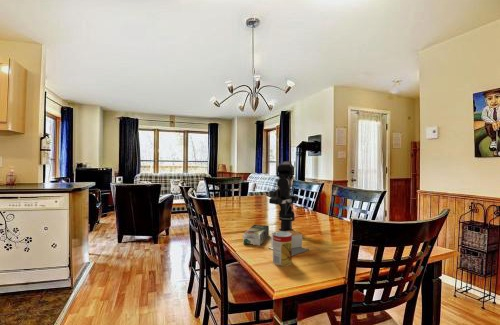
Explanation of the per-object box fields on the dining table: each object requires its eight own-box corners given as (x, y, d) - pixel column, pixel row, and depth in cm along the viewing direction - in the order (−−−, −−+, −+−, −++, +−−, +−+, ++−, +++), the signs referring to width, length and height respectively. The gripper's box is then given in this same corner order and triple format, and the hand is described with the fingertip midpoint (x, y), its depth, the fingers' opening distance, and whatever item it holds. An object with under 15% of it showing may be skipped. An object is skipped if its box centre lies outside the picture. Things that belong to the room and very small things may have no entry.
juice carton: (260, 246, 131) (260, 234, 131) (241, 244, 134) (241, 232, 134) (269, 235, 150) (269, 225, 150) (252, 234, 153) (252, 224, 153)
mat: (286, 243, 136) (286, 242, 136) (308, 250, 125) (308, 249, 125) (268, 248, 128) (268, 247, 128) (290, 256, 117) (290, 255, 117)
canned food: (295, 262, 111) (295, 233, 111) (284, 267, 105) (284, 237, 105) (280, 257, 116) (280, 230, 116) (269, 262, 110) (269, 233, 110)
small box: (302, 234, 129) (278, 237, 124) (302, 246, 129) (278, 250, 124) (293, 229, 136) (271, 232, 131) (293, 242, 136) (271, 245, 131)
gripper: (284, 184, 157) (283, 210, 157) (261, 186, 144) (261, 215, 144) (299, 185, 148) (299, 213, 149) (277, 188, 136) (277, 218, 136)
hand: (284, 215), depth 145 cm, fingers closed
